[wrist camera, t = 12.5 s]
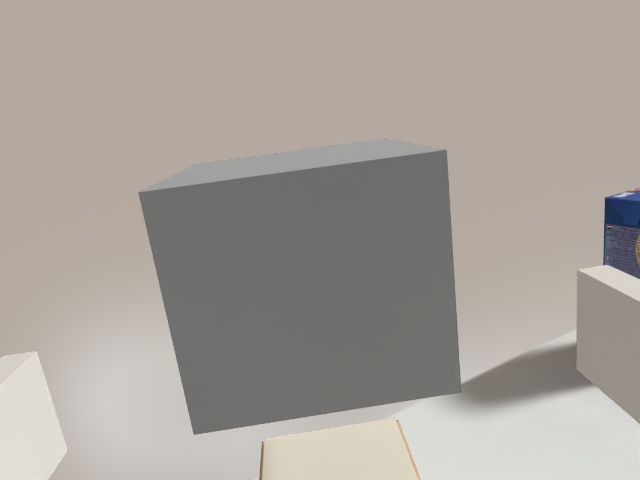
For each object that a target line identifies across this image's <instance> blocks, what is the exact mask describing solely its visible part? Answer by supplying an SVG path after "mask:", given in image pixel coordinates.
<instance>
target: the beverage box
mask: <svg viewBox="0 0 640 480" xmlns="http://www.w3.org/2000/svg"><path fill="white" fill-rule="evenodd" d="M604 223H605V224H604V262H603V265H609V266H611V267H613V268H616V269H618V270H620V271H622V272H624V273H627V274H629V275H631V276H633V277H636V278H638V279H640V188H637V189H633V190H630V191H627V192H623V193H620V194H616V195H613V196H609V197H606V198H605V221H604Z"/></svg>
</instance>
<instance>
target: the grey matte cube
mask: <svg viewBox="0 0 640 480" xmlns="http://www.w3.org/2000/svg"><path fill="white" fill-rule="evenodd" d="M139 197H140V201H141V206H142V210H143V214H144V218H145V223H146V228H147V232H148V236H149V240H150V245H151V249H152V254H153V258H154V263H155V267H156V271H157V276H158V280H159V284H160V289H161V293H162V297H163V302H164V306H165V311H166V315H167V319H168V324H169V328H170V332H171V336H172V341H173V346H174V350H175V354H176V359H177V363H178V367H179V371H180V376H181V381H182V384H183V389H184V394H185V398H186V402H187V407H188V411H189V416H190V420H191V424H192V429H193V433H194V435H195V434H201V433H208V432H213V431H220V430H226V429H233V428H239V427H245V426H252V425H258V424H264V423H270V422H277V421H283V420H289V419H295V418H301V417H308V416H314V415H321V414H327V413H333V412H340V411H346V410H352V409H358V408H364V407H371V406H377V405H384V404H390V403H396V402H402V401H408V400H415V399H421V398H428V397H434V396H440V395H446V394H453V393H459V392H461V381H460V366H459V365H460V364H459V347H458V333H457V332H458V331H457V314H456V298H455V281H454V265H453V249H452V248H453V247H452V231H451V214H450V199H449V181H448V165H447V150H445V149H439V148H434V147H429V146H423V145H417V144H411V143H406V142H401V141H395V140H389V139H377V140H369V141H362V142H355V143H347V144H340V145H333V146H325V147H318V148H310V149H303V150H296V151H289V152H281V153H274V154H266V155H259V156H252V157H245V158H237V159H229V160H222V161H215V162H209V163H208V162H207V163H201V164H195V165H193V166H191V167H189V168H187V169H185V170H183V171H181V172H179V173H177V174H175V175H172V176H170V177H169V178H166V179H164V180H162V181H160V182H158V183H156V184H154V185H152V186H150V187H148V188H146V189H144V190H142V191H140V192H139Z"/></svg>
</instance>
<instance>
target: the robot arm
mask: <svg viewBox="0 0 640 480" xmlns="http://www.w3.org/2000/svg"><path fill="white" fill-rule="evenodd" d="M576 369H577V370H578V371H579V372H580V373H581V374H582V375H584V376H585V377H586V378H587V379H588V380H589V381H591V382H592V383H593V384H594V385H595V386H596V387H598V388H599V389H600V390H601V391H602V392H603V393H605V394H606V395H607V396H608V397H609V398H610V399H612V400H613V401H614V402H615V403H616V404H617V405H619V406H620V407H621V408H622V409H623V410H624V411H626V412H627V413H628V414H629V415H630V416H631V417H633V418H634V419H635V420H636V421H637V422H638V423H640V279H638V278H636V277H633V276H631V275H629V274H627V273H624V272H622V271H620V270H618V269H616V268H613V267H611V266H609V265H603V266H597V267H590V268H583V269H578V270H577V361H576ZM66 452H67V447H66V443H65V440H64V437H63V434H62V431H61V428H60V424H59V421H58V418H57V415H56V412H55V408H54V405H53V402H52V399H51V396H50V392H49V389H48V386H47V383H46V380H45V377H44V373H43V370H42V367H41V364H40V361H39V358H38V354H37V351H34V352H28V353H20V354H14V355H7V356H3V357H2V358H1V359H0V480H48V479H49V478H50V476H51V475H52V473H53V472H54V470H55V468H56V467H57V466H58V464H59V463H60V461H61V459H62V458H63V456H64V455H65V453H66Z"/></svg>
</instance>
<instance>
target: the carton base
mask: <svg viewBox="0 0 640 480" xmlns="http://www.w3.org/2000/svg"><path fill="white" fill-rule="evenodd" d="M259 480H421V479H420V476H419V473H418V471H417V468H416V466H415V463H414V460H413V458H412V455H411V453H410V450H409V447H408V445H407V442H406V439H405V437H404V434H403V432H402V429H401V426H400V424H399V421H398V420H396V419H395V418H391V419H385V420H378V421H372V422H366V423H360V424H354V425H347V426H341V427H335V428H328V429H323V430H316V431H311V432H304V433H297V434H291V435H285V436H279V437H272V438H266V439H264V441H262V449H261V464H260V478H259Z"/></svg>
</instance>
